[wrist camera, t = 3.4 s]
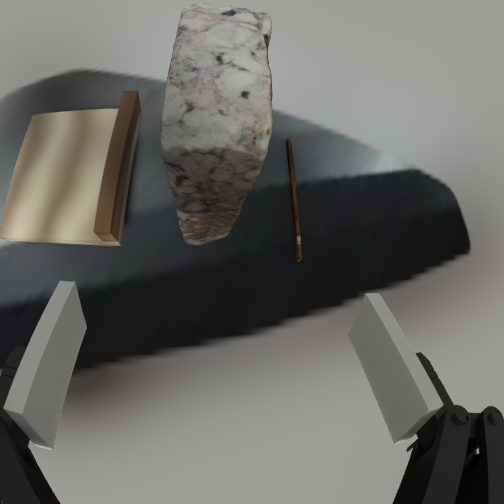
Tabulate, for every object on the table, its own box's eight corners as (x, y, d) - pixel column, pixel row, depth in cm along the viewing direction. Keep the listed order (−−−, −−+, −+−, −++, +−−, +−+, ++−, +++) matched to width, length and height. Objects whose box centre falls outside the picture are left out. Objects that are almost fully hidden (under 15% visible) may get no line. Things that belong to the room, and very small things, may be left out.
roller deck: (17, 247, 29) (-17, 228, 22) (45, 134, 32) (24, 100, 25) (127, 252, 31) (109, 232, 24) (144, 130, 35) (137, 90, 28)
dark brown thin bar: (284, 142, 38) (287, 138, 37) (288, 142, 38) (290, 138, 37) (295, 261, 35) (298, 259, 34) (299, 261, 35) (302, 259, 34)
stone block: (174, 140, 35) (172, -3, 16) (233, 138, 37) (270, 1, 17) (176, 250, 32) (157, 147, 13) (243, 246, 34) (307, 146, 15)
